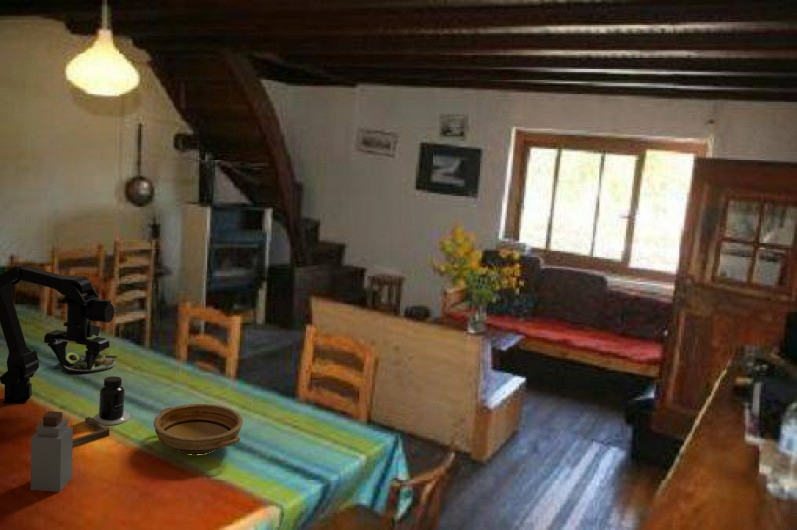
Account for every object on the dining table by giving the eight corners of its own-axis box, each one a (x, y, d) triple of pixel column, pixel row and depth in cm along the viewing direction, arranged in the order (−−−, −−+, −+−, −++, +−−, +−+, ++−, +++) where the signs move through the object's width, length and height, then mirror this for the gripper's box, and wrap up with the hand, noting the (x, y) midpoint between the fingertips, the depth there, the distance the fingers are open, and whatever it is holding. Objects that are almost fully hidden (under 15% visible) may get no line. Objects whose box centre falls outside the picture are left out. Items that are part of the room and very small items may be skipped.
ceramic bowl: (127, 443, 182) (128, 416, 180) (197, 418, 202) (198, 394, 201) (198, 480, 166) (200, 451, 165) (265, 449, 186) (267, 423, 185)
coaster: (90, 425, 190) (90, 423, 190) (97, 411, 199) (97, 409, 199) (127, 425, 192) (127, 423, 192) (132, 411, 202) (132, 410, 202)
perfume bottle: (43, 475, 161) (44, 407, 158) (71, 477, 161) (73, 409, 158) (30, 490, 154) (31, 419, 151) (60, 491, 155) (61, 421, 152)
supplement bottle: (120, 421, 193) (121, 383, 191) (96, 420, 192) (97, 382, 190) (125, 412, 200) (127, 375, 198) (102, 411, 198) (103, 374, 196)
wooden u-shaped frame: (46, 435, 181) (47, 429, 181) (89, 422, 191) (89, 416, 191) (69, 448, 175) (69, 442, 175) (111, 434, 185) (111, 428, 185)
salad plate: (109, 354, 250) (109, 343, 249) (127, 368, 237) (127, 356, 237) (55, 361, 237) (55, 349, 236) (70, 377, 224) (71, 364, 223)
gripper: (121, 316, 202) (119, 364, 204) (68, 308, 205) (67, 355, 208) (98, 325, 191) (96, 375, 194) (42, 316, 194) (42, 365, 197)
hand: (76, 367), depth 198 cm, fingers open, 9 cm apart
